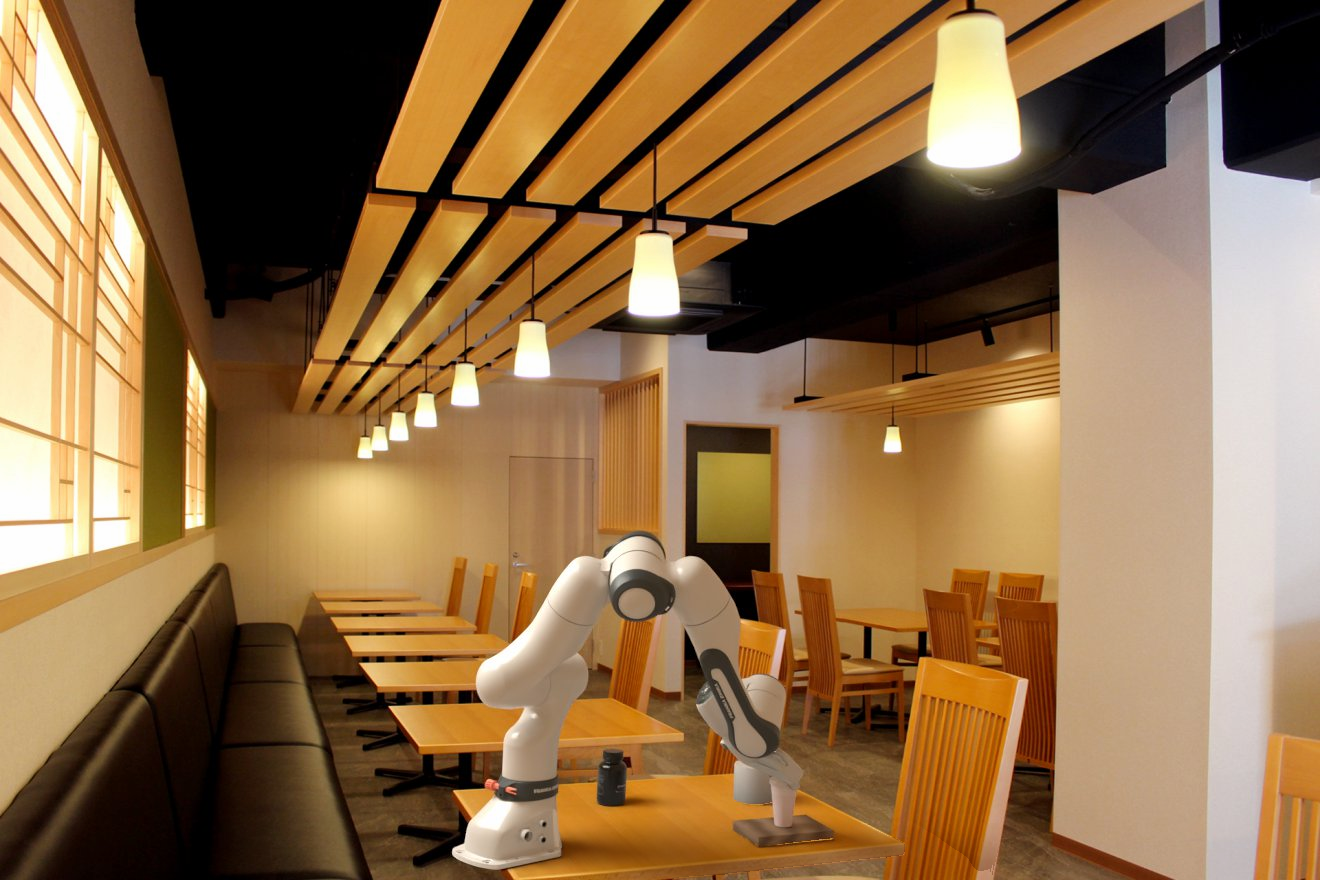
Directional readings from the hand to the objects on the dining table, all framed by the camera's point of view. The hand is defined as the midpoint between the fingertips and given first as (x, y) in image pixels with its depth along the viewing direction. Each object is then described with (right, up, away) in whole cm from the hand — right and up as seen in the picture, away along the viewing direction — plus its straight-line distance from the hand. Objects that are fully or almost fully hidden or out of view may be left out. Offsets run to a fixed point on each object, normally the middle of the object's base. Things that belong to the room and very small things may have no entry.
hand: (786, 783), depth 227 cm
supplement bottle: (-39, -11, +19) cm, 45 cm away
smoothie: (-1, -9, -1) cm, 9 cm away
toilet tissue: (-4, -13, +26) cm, 29 cm away
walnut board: (-1, -11, -1) cm, 11 cm away
